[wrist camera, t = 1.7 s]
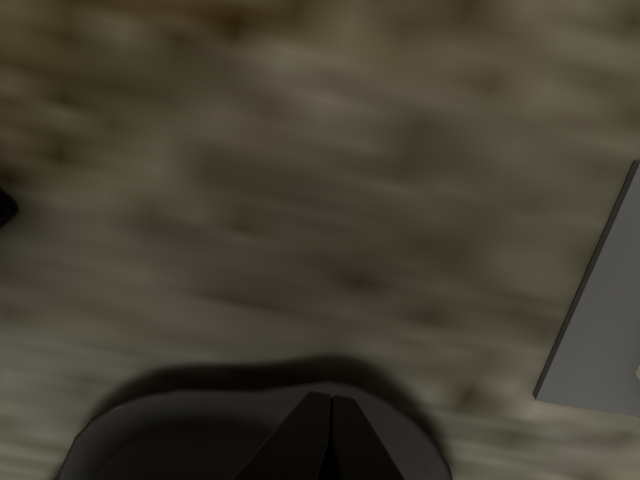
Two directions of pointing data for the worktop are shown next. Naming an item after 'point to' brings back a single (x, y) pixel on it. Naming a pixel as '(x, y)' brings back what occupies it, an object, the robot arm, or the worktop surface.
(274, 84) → the worktop surface
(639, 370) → the box
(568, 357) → the mat
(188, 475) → the casserole
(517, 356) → the worktop surface
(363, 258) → the worktop surface
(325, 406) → the robot arm
